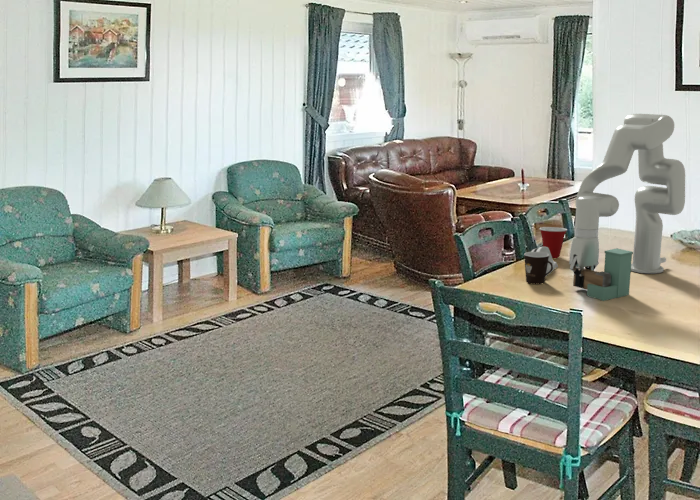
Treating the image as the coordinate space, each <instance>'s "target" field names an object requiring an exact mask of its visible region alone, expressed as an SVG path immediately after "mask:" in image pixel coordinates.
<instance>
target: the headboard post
mask: <svg viewBox="0 0 700 500" xmlns="http://www.w3.org/2000/svg"><path fill="white" fill-rule="evenodd" d="M604 254H605V255H604V267H603V269H604V270H603V272H607V273H610V275H611V284H610V286H609V287H601V286H597V285H594V284H588V286H587V290H586V296H587V297H591V298H594V299H598V300H600V301H603V302H605V301H608V300H612V299H617V298H621V297H626V296H629V295H630V285H631V273H632V271H631V264H632V262H633V251H631V250H627V249H622V248H617V247H616V248H612V249H607V250H604Z"/></svg>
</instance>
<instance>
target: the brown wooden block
mask: <svg viewBox="0 0 700 500" xmlns="http://www.w3.org/2000/svg"><path fill="white" fill-rule="evenodd" d="M579 271H580V269H579ZM583 276H584V286H583V288H580V287H577V286H575V275H574V274H573V280H572V281H573V282H572V283H573V284H572V285H573V287H575V288H579V289H583V290H586V291H587V286H588V284H594V285H597V286H601V287H609V286H610V284H611V275H610V273H607V272H604V270H603V271H597V270H594V271H593V270H589V269H585V267H584V271H583Z"/></svg>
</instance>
